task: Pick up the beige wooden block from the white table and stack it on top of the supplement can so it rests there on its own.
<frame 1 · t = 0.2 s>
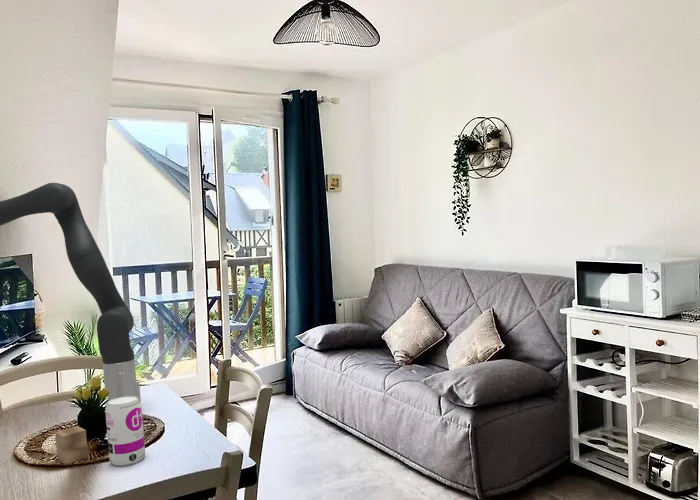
beige wooden block: (72, 458, 151), on the table
supplement can: (128, 461, 147), on the table
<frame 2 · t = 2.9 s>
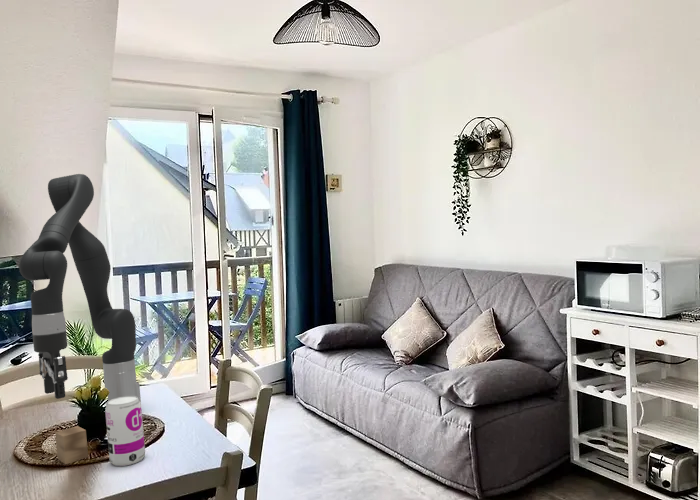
hand: (54, 395, 150), 16 cm above the table, tool pointing down, fingers open, 8 cm apart
nothing on the table moved.
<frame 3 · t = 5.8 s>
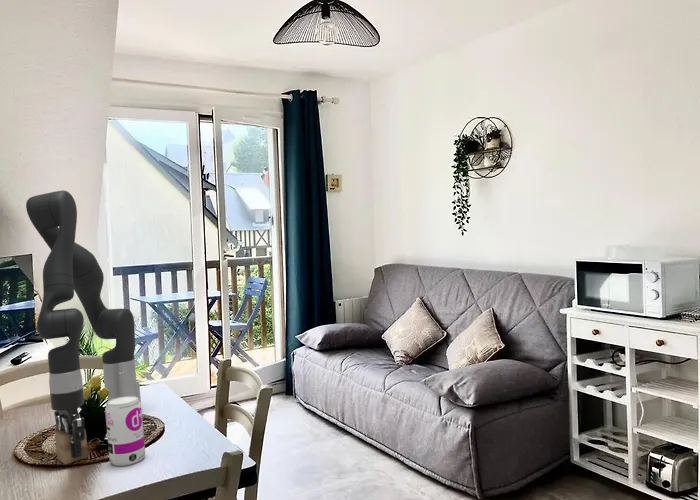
hand: (72, 454, 151), 1 cm above the table, tool pointing down, fingers closed on beige wooden block, 5 cm apart
beige wooden block: (72, 458, 151), on the table, touching gripper
everything else where it was.
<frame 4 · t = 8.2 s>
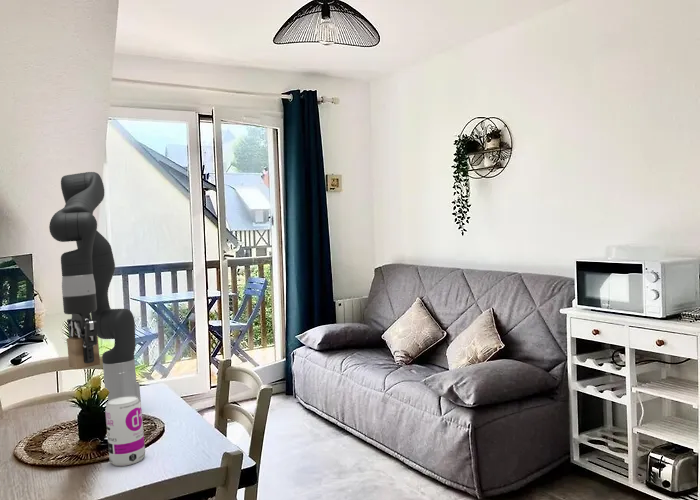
hand: (84, 361, 148), 25 cm above the table, tool pointing down, fingers closed on beige wooden block, 5 cm apart
beige wooden block: (84, 365, 148), point 24 cm above the table, touching gripper
everything else where it was.
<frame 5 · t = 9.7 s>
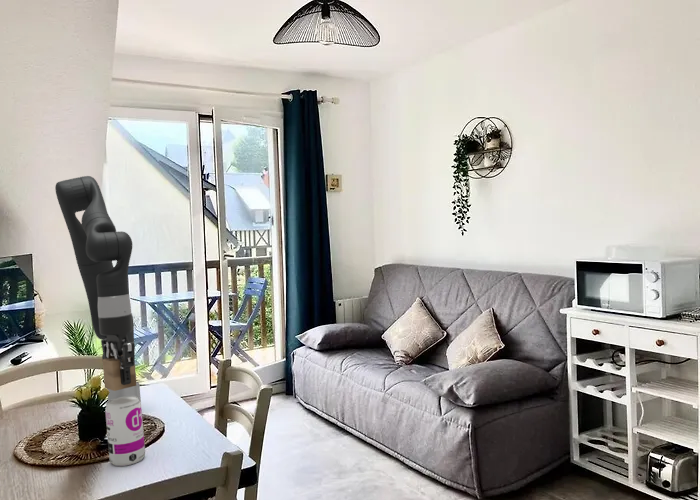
hand: (120, 382, 146), 19 cm above the table, tool pointing down, fingers closed on beige wooden block, 5 cm apart
beige wooden block: (120, 386, 146), point 18 cm above the table, touching gripper
everything else where it was.
when the fingers open (17 cm above the table, at t = 11.0 s): beige wooden block drops 1 cm, resting on supplement can.
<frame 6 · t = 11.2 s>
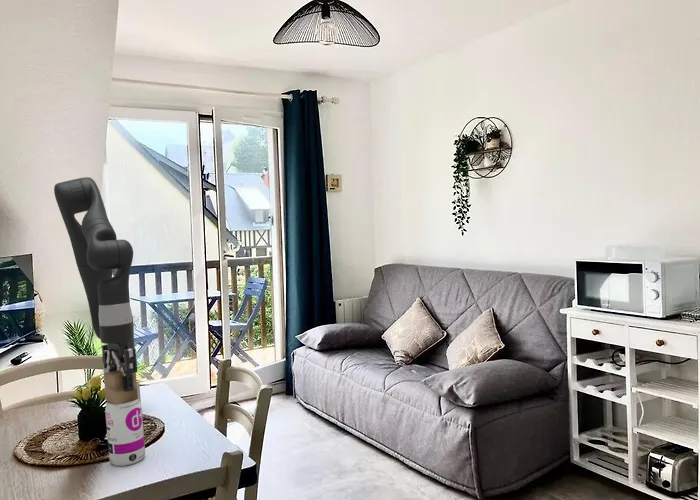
hand: (121, 388, 146), 18 cm above the table, tool pointing down, fingers open, 7 cm apart
beige wooden block: (122, 400, 147), point 15 cm above the table, touching supplement can
supplement can: (128, 461, 147), on the table, touching beige wooden block
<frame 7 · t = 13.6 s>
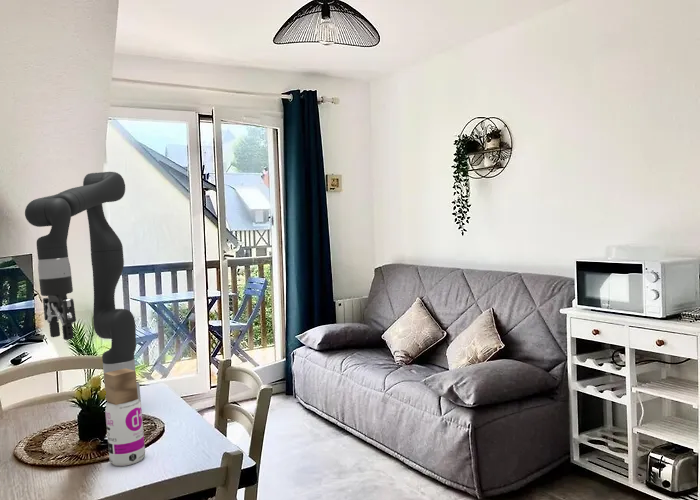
hand: (61, 338, 155), 30 cm above the table, tool pointing down, fingers open, 8 cm apart
nothing on the table moved.
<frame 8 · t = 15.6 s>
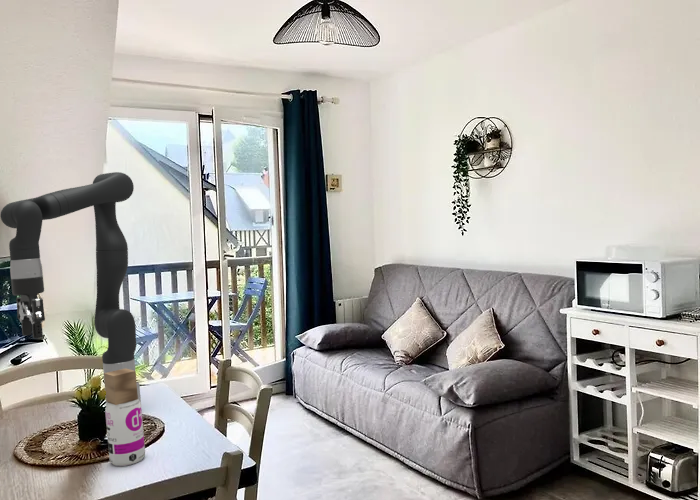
hand: (32, 336, 160), 30 cm above the table, tool pointing down, fingers open, 8 cm apart
nothing on the table moved.
at the end: beige wooden block 0.1 cm off-centre on the supplement can, point 15.2 cm above the supplement can's base; beige wooden block tilted 0°; supplement can tilted 0° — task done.
